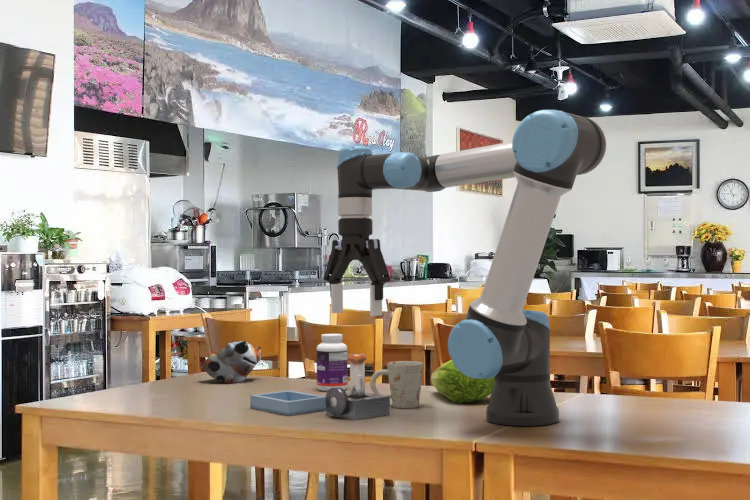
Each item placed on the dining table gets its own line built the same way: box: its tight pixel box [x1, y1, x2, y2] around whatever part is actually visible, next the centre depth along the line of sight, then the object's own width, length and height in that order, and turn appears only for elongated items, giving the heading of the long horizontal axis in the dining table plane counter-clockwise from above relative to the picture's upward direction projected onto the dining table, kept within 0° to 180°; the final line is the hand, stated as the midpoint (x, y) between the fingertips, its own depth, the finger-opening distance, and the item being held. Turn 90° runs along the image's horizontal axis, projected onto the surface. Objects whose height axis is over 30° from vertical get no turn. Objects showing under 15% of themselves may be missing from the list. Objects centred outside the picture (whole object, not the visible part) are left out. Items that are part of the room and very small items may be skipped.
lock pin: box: [347, 353, 367, 399], centre depth 217 cm, size 4×4×13 cm
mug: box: [369, 360, 424, 409], centre depth 229 cm, size 8×13×10 cm, turn 78°
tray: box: [249, 390, 326, 417], centre depth 226 cm, size 15×11×3 cm
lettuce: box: [430, 359, 494, 404], centre depth 240 cm, size 12×24×13 cm
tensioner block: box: [325, 387, 391, 421], centre depth 217 cm, size 10×12×6 cm
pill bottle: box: [315, 333, 349, 392], centre depth 257 cm, size 8×8×14 cm
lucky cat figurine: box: [200, 340, 262, 385], centre depth 277 cm, size 15×12×14 cm
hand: (356, 314), depth 218 cm, fingers open, 13 cm apart
